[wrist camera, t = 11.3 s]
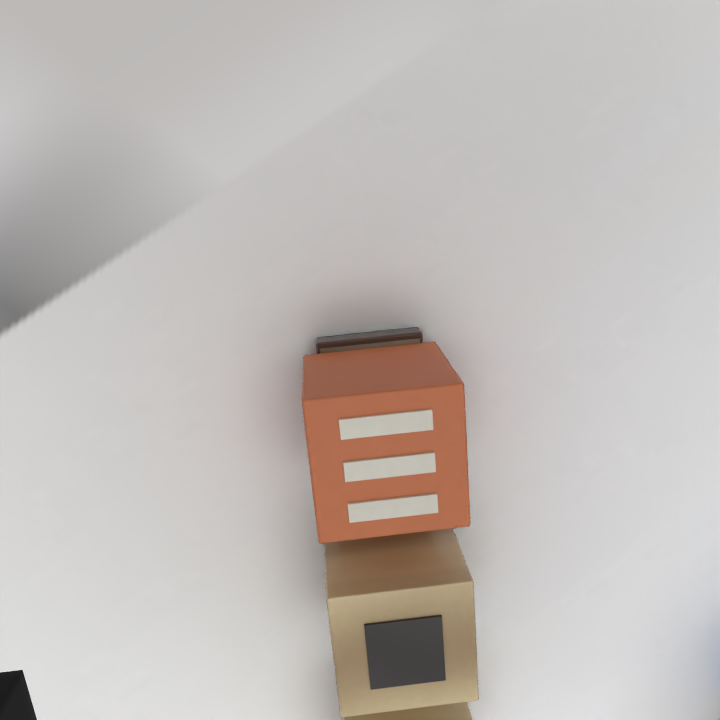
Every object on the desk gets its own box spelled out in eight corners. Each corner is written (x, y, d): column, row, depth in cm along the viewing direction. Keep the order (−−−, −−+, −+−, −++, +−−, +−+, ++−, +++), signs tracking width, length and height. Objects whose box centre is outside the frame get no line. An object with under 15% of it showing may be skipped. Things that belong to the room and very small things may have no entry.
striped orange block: (302, 354, 23) (301, 401, 19) (435, 341, 23) (465, 384, 19) (317, 475, 24) (319, 546, 20) (442, 461, 24) (471, 528, 20)
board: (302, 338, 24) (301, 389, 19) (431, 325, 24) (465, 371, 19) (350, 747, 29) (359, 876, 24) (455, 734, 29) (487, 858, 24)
